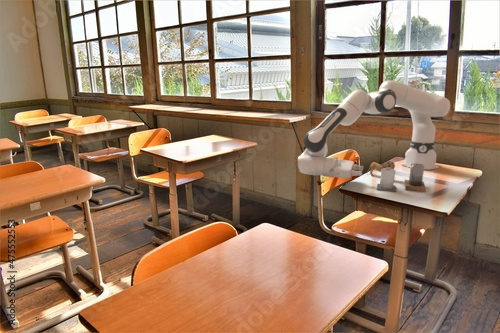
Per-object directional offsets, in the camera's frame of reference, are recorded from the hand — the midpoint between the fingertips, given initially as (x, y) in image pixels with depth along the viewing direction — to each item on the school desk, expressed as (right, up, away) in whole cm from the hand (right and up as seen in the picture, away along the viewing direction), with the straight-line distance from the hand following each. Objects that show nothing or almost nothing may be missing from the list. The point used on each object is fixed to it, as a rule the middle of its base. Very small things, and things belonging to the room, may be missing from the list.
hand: (362, 170), depth 172 cm
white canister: (+10, -7, -2) cm, 13 cm away
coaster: (+10, -8, -1) cm, 13 cm away
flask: (+23, -6, -2) cm, 24 cm away
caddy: (+23, -8, 0) cm, 25 cm away
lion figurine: (+14, -3, +17) cm, 22 cm away
